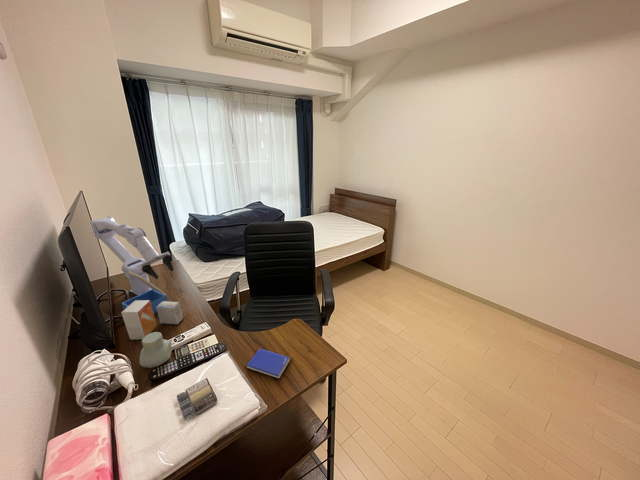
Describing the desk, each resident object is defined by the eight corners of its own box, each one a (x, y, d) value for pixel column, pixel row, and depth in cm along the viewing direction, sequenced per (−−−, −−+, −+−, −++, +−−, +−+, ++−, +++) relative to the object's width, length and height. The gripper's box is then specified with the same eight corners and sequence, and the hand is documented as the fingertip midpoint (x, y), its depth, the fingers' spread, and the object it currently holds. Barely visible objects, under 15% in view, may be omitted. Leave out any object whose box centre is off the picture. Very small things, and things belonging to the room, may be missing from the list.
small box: (146, 339, 99) (137, 312, 95) (129, 339, 99) (120, 312, 95) (157, 325, 107) (150, 299, 102) (142, 326, 107) (134, 300, 102)
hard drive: (289, 356, 89) (259, 347, 93) (278, 375, 82) (246, 364, 86) (290, 360, 90) (260, 351, 94) (278, 379, 83) (246, 368, 87)
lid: (142, 278, 107) (143, 277, 108) (128, 272, 113) (129, 271, 113) (165, 295, 118) (166, 294, 118) (151, 288, 123) (152, 287, 123)
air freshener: (168, 367, 87) (162, 345, 83) (140, 375, 84) (132, 352, 81) (173, 345, 96) (167, 324, 93) (148, 351, 94) (141, 330, 90)
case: (138, 322, 109) (134, 311, 107) (124, 313, 114) (121, 303, 112) (168, 305, 120) (166, 295, 118) (155, 298, 126) (152, 288, 123)
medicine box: (183, 318, 111) (179, 301, 108) (177, 324, 107) (173, 308, 104) (167, 317, 112) (162, 300, 109) (160, 323, 108) (155, 307, 105)
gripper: (132, 254, 111) (151, 279, 112) (164, 241, 123) (181, 264, 123) (129, 260, 115) (148, 284, 116) (160, 247, 127) (177, 269, 128)
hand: (165, 274), depth 120 cm, fingers open, 7 cm apart
